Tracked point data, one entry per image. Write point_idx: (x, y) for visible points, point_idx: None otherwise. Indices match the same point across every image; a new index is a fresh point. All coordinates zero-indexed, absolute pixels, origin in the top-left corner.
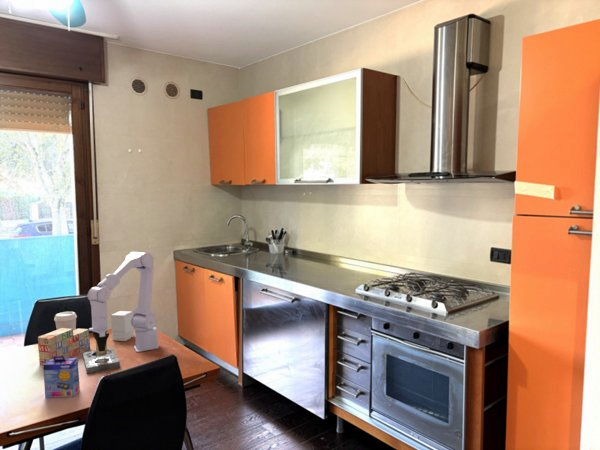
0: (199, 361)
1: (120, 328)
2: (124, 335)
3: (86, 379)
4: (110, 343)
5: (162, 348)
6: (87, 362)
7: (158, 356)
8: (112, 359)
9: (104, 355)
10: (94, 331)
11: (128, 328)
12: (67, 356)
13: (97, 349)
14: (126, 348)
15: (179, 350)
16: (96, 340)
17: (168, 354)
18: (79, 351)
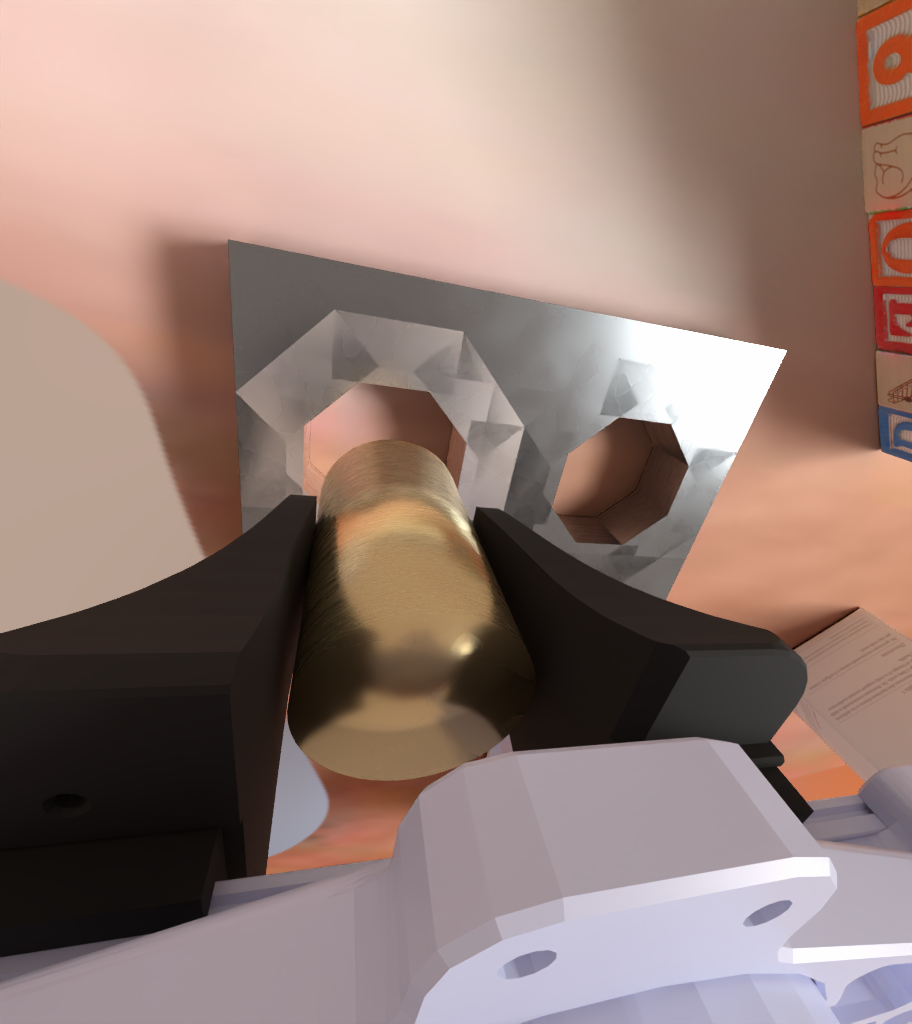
0: None
1: (889, 724)
2: (807, 694)
3: (42, 177)
4: (825, 587)
5: None
6: (445, 311)
7: (331, 779)
8: None
9: (526, 515)
10: (147, 940)
11: (845, 752)
12: (899, 189)
13: (352, 489)
14: None
15: (357, 857)
16: (98, 610)
17: (328, 818)
18: (898, 351)
